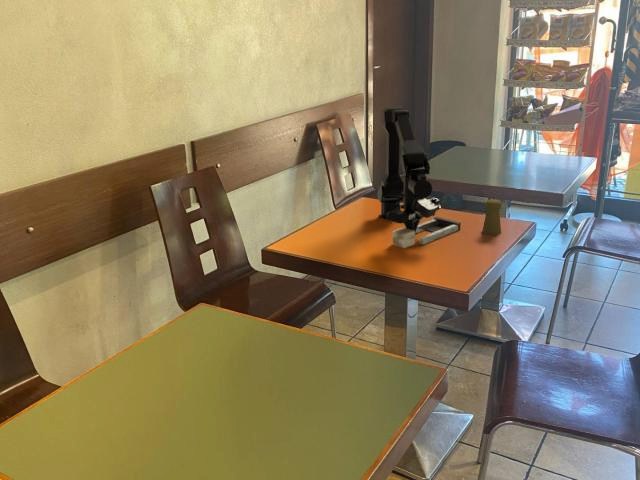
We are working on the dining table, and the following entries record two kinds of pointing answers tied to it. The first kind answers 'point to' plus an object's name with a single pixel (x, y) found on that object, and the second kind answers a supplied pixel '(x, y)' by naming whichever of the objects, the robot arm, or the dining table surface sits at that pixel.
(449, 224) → the trap channel
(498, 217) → the olive tapered tower
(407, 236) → the cream block
